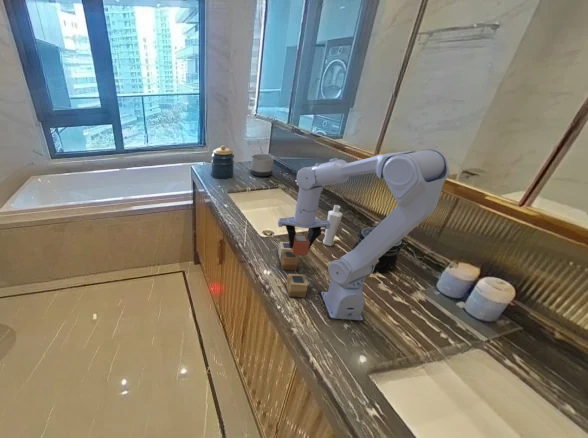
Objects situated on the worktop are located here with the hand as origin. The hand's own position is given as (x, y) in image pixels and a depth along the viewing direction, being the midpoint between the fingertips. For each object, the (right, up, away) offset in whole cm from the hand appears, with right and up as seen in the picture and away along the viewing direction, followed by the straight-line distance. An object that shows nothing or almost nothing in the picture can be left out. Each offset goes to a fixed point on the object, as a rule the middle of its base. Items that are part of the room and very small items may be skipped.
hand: (299, 246), depth 87 cm
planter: (+6, +35, +82) cm, 90 cm away
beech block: (-2, -7, +5) cm, 9 cm away
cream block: (-1, -4, +10) cm, 11 cm away
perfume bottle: (+17, 0, +17) cm, 24 cm away
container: (+27, -6, +7) cm, 28 cm away
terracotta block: (0, -1, +1) cm, 1 cm away
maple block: (-3, -12, -5) cm, 14 cm away
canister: (-17, +35, +82) cm, 90 cm away
